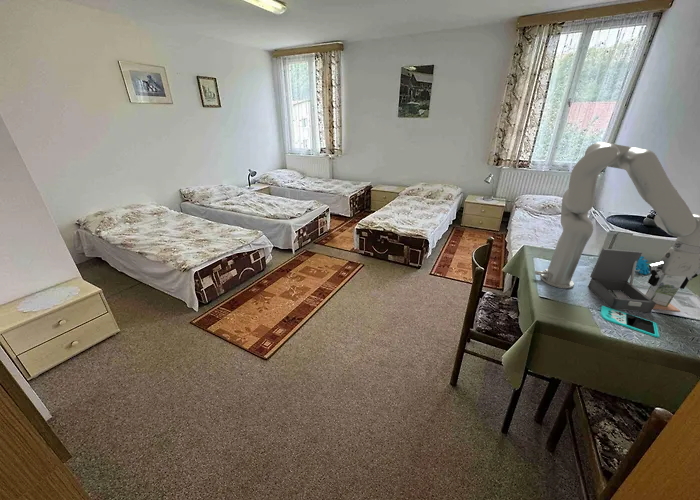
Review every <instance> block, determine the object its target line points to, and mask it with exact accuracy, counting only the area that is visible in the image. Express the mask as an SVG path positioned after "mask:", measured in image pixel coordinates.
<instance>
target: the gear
mask: <svg viewBox="0 0 700 500" xmlns="http://www.w3.org/2000/svg"><path fill="white" fill-rule="evenodd" d="M648 262H649V261H648V259H645V257H644V256H643V255H641V256H640V258H639V260H638V262H637V264H636V269H635V271H638V270H639V271H638V273H639V274H642V275H644V276H645V275H648V274H650V271H649V265H650V264H652V263H651V262H649V263H648Z"/></svg>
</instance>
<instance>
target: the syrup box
mask: <svg viewBox="0 0 700 500" xmlns="http://www.w3.org/2000/svg"><path fill="white" fill-rule="evenodd" d="M658 273H660V271H659V272H657V274H658ZM659 278H660V279H659V281H658V283H657V284H656V286H652V285H651V284H650V286H649V287H648V290H647V291H646V293H644V294H645V295H646V296H647V297H649V298H650V299H651V300H653V301H654V302H655V303H656V304H657V305H662V306H666V307H667V306H668V305H669V303H670V304H671V302H672V300H673V298H674V297H675V296H676V294H677V293H678V291H679V289H681V288H680V286H681V285H682V283H683V282H684V280H685V279H686V276H671V275H666V274H663V275H661V276H660V277H659Z"/></svg>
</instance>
